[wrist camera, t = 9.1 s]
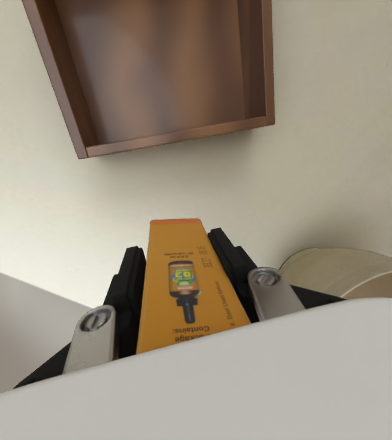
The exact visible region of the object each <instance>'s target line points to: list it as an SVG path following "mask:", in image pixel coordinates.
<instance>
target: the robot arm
mask: <svg viewBox="0 0 392 440" xmlns="http://www.w3.org/2000/svg"><path fill="white" fill-rule="evenodd" d="M208 238H209V240H210V242H211V244H212V246H213V248H214V250H215V252H216V254H217V256H218V258H219V260H220V262H221V264H222V266H223V268H224V270H225V272H226V274H227V276H228V278H229V280H230V282H231V284H232V286H233V288H234V290H235V292H236V294H237V296H238V299H239V301H240V303H241V304H242V306H243V308H244V310H245V312H246V314H247V316H248V318H249V320H250V322H251V324H249V325H245V326H241V327H237V328H234V329H230V330H226V331H222V332H219V333H215V334H211V335H207V336H204V337H200V338H196V339H192V340H189V341H185V342H181V343H177V344H174V345H170V346H166V347H163V348H159V349H155V350H151V351H148V352H144V353H140V354H137V355H136V350H137V342H138V334H139V326H140V316H141V308H142V298H143V289H144V280H145V270H146V259H145V256H144V252H143V249H142V248H138V246H135V247H130V248H127V249H126V252H125V255H124V258H123V261H122V264H121V267H120V270H119V273H118V274H116V275H114V276H113V279H112V281H111V284H110V287H109V290H108V292H107V295H106V298H105V301H104V303H103V306H99V307H96V308H94V309H92V310H90V311H89V312H87V313H86V314H85V315H84V316H82V317H81V319H80V320H79V321H78V323H77V325H76V327H75V331H74V335H73V338H72V341H71V342H70V343H69V344H68V345H66V346H65V347H64V348H63V349H62V350H60V351H59V352H58V353H56V354H55V355H54V356H53V357H51V358H50V359H49V360H47V361H46V362H45V363H44V364H42V365H41V366H40V367H39V368H37V369H36V370H35V371H34V372H33V373H31V374H30V375H29V376H27V377H26V378H25V379H24V380H22V381H21V382H20V383H19V384H18V385H16V386H15V387H14V388H13V389H12V390H9V391H6V392H2V393H0V440H392V298H386V297H374V298H358V299H352V300H347V299H344V298H341V297H337V296H333V295H329V294H325V293H321V292H317V291H313V290H309V289H305V288H301V287H298V286H294V285H290V284H289V283H288V282H287V280H286V278H285V277H284V275H283V274H282V273H281V272H280V271H278V270H276V269H274V268H270V267H259V268H258V267H257V266H256V264H255V263H254V262H253V261H252V259H251V258H250V257H249V256H248V254H247V253H246V252H245V251H244V249H243V248H242V247H241V246H237V247H234V246H233V244H232V243H231V242H230V240H229V239H228V237H227V236H226V235H225V233H224V232H223V231H222V229H221V228H216V229H212V230H211V232H210V233H208Z"/></svg>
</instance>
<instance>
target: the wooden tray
mask: <svg viewBox="0 0 392 440" xmlns="http://www.w3.org/2000/svg"><path fill="white" fill-rule="evenodd" d="M22 2H23V5H24V8H25V11H26V14H27V16H28V19H29V22H30V25H31V28H32V30H33V33H34V36H35V39H36V42H37V44H38V47H39V50H40V53H41V56H42V58H43V61H44V64H45V67H46V70H47V72H48V75H49V78H50V81H51V84H52V87H53V89H54V92H55V95H56V98H57V101H58V103H59V106H60V109H61V112H62V115H63V117H64V120H65V123H66V126H67V129H68V131H69V134H70V137H71V140H72V143H73V145H74V148H75V151H76V154H77V157H78V159H85V158H91V157H97V156H103V155H108V154H114V153H119V152H125V151H131V150H136V149H142V148H147V147H153V146H159V145H164V144H170V143H175V142H181V141H187V140H192V139H198V138H203V137H209V136H215V135H220V134H226V133H231V132H237V131H243V130H248V129H254V128H259V127H264V126H269V125H274V124H275V110H274V74H273V39H272V3H271V0H22Z"/></svg>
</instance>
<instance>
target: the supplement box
mask: <svg viewBox="0 0 392 440" xmlns="http://www.w3.org/2000/svg"><path fill="white" fill-rule="evenodd" d="M249 324H251V322H250V320H249V318H248V316H247V314H246V312H245V310H244V308H243V306H242V304H241V303H240V301H239V299H238V296H237V294H236V292H235V290H234V288H233V286H232V284H231V282H230V280H229V278H228V276H227V274H226V272H225V270H224V268H223V266H222V264H221V262H220V260H219V258H218V256H217V254H216V252H215V250H214V248H213V246H212V244H211V242H210V240H209V238H208V235H207V233H206V231H205V229H204V227H203V225H202V222H201V220H200V219H197V218H195V219H166V220H152V221H151V222H150V233H149V243H148V251H147V260H146V270H145V280H144V289H143V298H142V308H141V316H140V326H139V334H138V342H137V350H136V355H137V354H140V353H144V352H148V351H151V350H155V349H159V348H163V347H166V346H170V345H174V344H177V343H181V342H185V341H189V340H192V339H196V338H200V337H204V336H207V335H211V334H215V333H219V332H222V331H226V330H230V329H234V328H237V327H241V326H245V325H249Z"/></svg>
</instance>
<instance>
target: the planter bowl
mask: <svg viewBox="0 0 392 440" xmlns="http://www.w3.org/2000/svg"><path fill="white" fill-rule="evenodd" d="M279 271H280V272H281V273H282V274H283V275H284V277H285V278H286V280H287V282H288V283H289V284H290V285H294V286H298V287H301V288H305V289H309V290H313V291H317V292H321V293H325V294H329V295H333V296H337V297H341V298H344V299H347V300H352V299H358V298H374V297H386V298H392V258H390V257H387V256H384V255H381V254H377V253H373V252H369V251H364V250H358V249H349V248H331V249H321V248H308V249H305V250H302V251H299V252H297V253H296V254H294V255H293V256H291V257H290V258H289V259H288V260H287V261H286V262H285V263H284V264H283V265H282V267H281V268H280V270H279Z"/></svg>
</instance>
